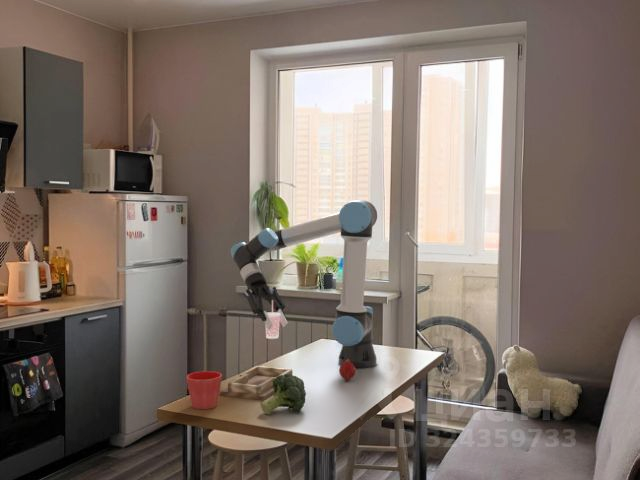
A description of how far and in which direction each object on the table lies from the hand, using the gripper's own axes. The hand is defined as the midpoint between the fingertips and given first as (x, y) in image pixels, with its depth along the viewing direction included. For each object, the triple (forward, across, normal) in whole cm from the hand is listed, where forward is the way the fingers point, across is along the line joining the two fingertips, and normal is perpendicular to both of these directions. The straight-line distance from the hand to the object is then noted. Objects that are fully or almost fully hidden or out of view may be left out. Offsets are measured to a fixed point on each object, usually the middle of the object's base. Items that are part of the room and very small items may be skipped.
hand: (278, 326), depth 243 cm
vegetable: (+38, +23, +12) cm, 46 cm away
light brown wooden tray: (+19, +14, -7) cm, 25 cm away
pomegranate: (+28, -15, +2) cm, 32 cm away
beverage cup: (+1, 0, -6) cm, 6 cm away
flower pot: (+24, +39, -2) cm, 46 cm away
